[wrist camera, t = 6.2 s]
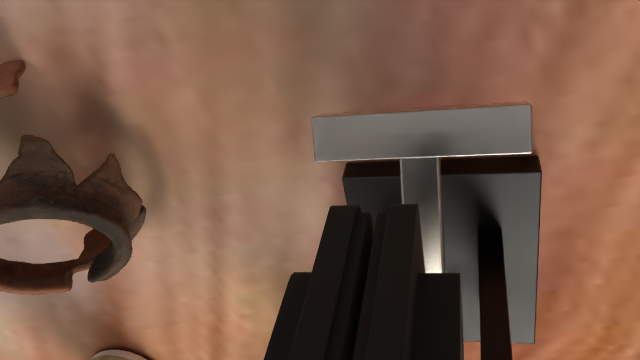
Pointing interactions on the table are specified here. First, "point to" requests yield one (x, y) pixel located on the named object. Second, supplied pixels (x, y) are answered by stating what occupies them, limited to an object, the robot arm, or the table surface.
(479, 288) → the black lever stand
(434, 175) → the tap lever
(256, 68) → the table surface
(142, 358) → the pill bottle
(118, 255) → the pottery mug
